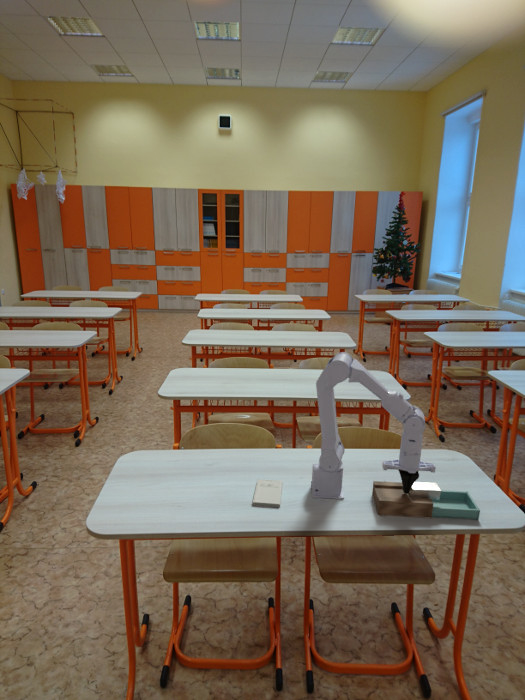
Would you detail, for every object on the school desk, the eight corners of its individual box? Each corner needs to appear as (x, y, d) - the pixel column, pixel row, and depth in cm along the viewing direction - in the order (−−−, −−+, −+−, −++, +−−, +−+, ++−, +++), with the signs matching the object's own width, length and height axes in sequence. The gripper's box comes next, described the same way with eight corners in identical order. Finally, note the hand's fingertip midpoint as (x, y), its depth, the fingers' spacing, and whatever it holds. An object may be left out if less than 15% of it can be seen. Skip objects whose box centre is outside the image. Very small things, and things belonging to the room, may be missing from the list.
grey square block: (411, 498, 127) (412, 489, 127) (408, 490, 131) (409, 481, 130) (425, 499, 127) (426, 490, 126) (421, 491, 131) (422, 482, 130)
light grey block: (425, 498, 127) (426, 489, 126) (421, 490, 131) (422, 482, 130) (439, 499, 127) (441, 490, 126) (435, 491, 131) (436, 482, 130)
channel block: (378, 514, 126) (379, 500, 125) (372, 494, 136) (373, 481, 135) (431, 517, 125) (433, 503, 124) (421, 497, 135) (423, 483, 134)
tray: (431, 517, 126) (433, 507, 125) (422, 497, 135) (423, 489, 134) (478, 519, 125) (480, 510, 124) (466, 500, 134) (467, 491, 133)
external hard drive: (252, 506, 130) (257, 483, 142) (280, 508, 129) (282, 485, 141) (252, 502, 130) (257, 478, 142) (280, 504, 129) (282, 480, 141)
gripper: (387, 455, 122) (383, 498, 126) (441, 458, 121) (435, 501, 125) (382, 443, 129) (378, 484, 133) (433, 446, 128) (427, 487, 132)
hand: (405, 491), depth 129 cm, fingers closed
